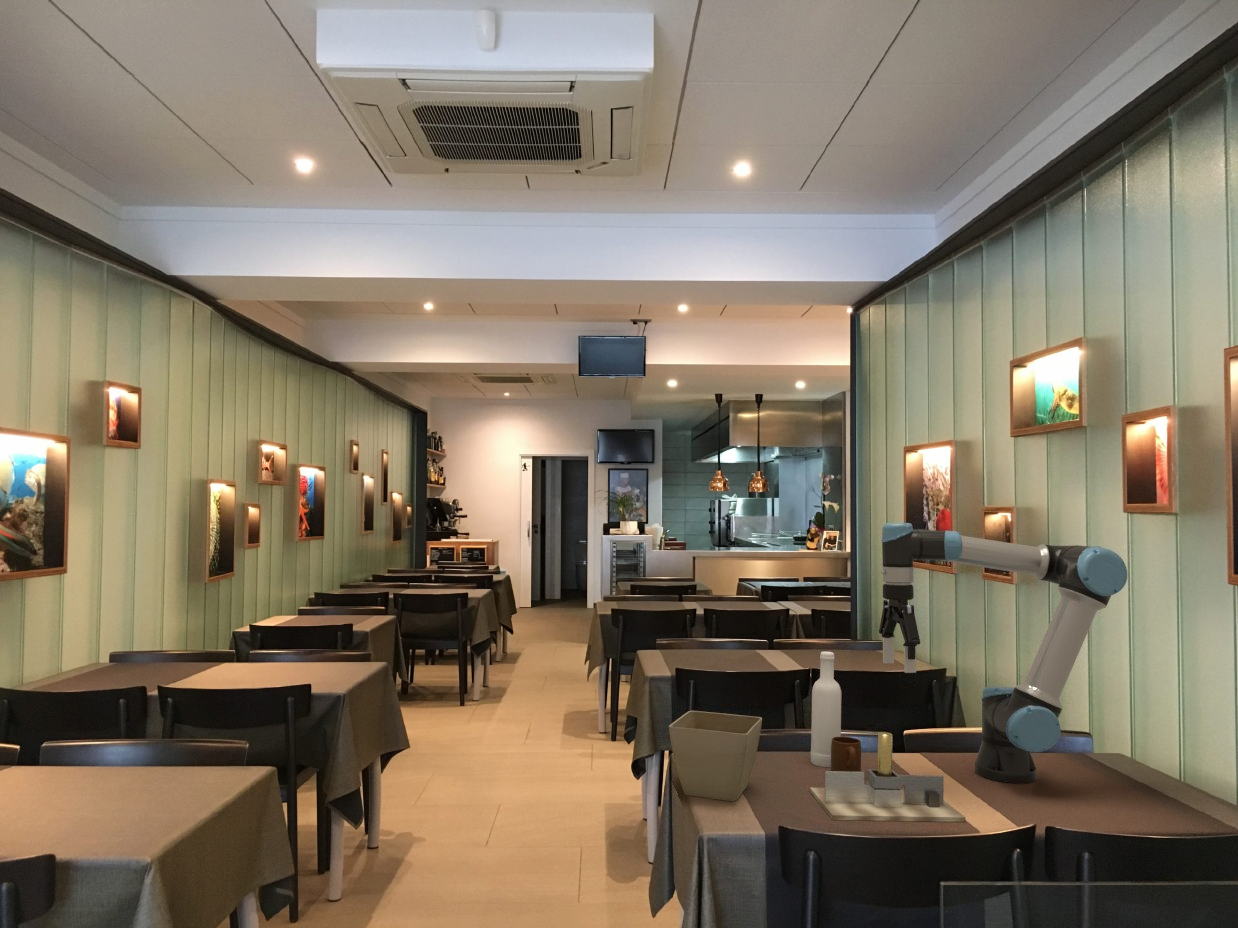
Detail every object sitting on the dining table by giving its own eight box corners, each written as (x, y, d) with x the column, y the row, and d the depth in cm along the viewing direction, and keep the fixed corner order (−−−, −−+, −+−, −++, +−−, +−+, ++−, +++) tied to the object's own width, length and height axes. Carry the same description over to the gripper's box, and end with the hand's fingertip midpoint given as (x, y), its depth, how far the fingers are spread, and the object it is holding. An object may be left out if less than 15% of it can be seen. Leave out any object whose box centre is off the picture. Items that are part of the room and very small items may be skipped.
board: (931, 793, 222) (931, 789, 222) (965, 821, 202) (965, 817, 202) (810, 791, 221) (810, 787, 221) (832, 819, 201) (832, 815, 201)
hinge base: (930, 799, 214) (930, 769, 215) (940, 808, 208) (940, 777, 208) (821, 797, 213) (822, 767, 214) (828, 806, 207) (829, 775, 208)
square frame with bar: (938, 798, 214) (938, 771, 214) (947, 807, 208) (948, 778, 208) (866, 797, 214) (867, 769, 214) (874, 805, 208) (874, 776, 208)
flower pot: (665, 797, 214) (667, 725, 214) (687, 775, 232) (689, 709, 232) (745, 808, 207) (746, 734, 208) (761, 785, 225) (763, 717, 226)
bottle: (844, 762, 248) (846, 652, 249) (834, 769, 241) (836, 655, 242) (816, 757, 252) (818, 649, 253) (806, 763, 245) (808, 652, 247)
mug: (868, 786, 227) (869, 748, 227) (838, 785, 227) (838, 747, 227) (856, 772, 239) (857, 736, 239) (827, 771, 239) (828, 735, 239)
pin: (888, 800, 212) (889, 732, 213) (893, 805, 209) (894, 735, 210) (874, 800, 212) (876, 731, 213) (879, 805, 209) (880, 735, 209)
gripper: (865, 579, 243) (866, 659, 242) (903, 587, 218) (904, 676, 217) (892, 579, 244) (894, 659, 243) (933, 587, 219) (935, 676, 218)
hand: (899, 667), depth 230 cm, fingers open, 13 cm apart
